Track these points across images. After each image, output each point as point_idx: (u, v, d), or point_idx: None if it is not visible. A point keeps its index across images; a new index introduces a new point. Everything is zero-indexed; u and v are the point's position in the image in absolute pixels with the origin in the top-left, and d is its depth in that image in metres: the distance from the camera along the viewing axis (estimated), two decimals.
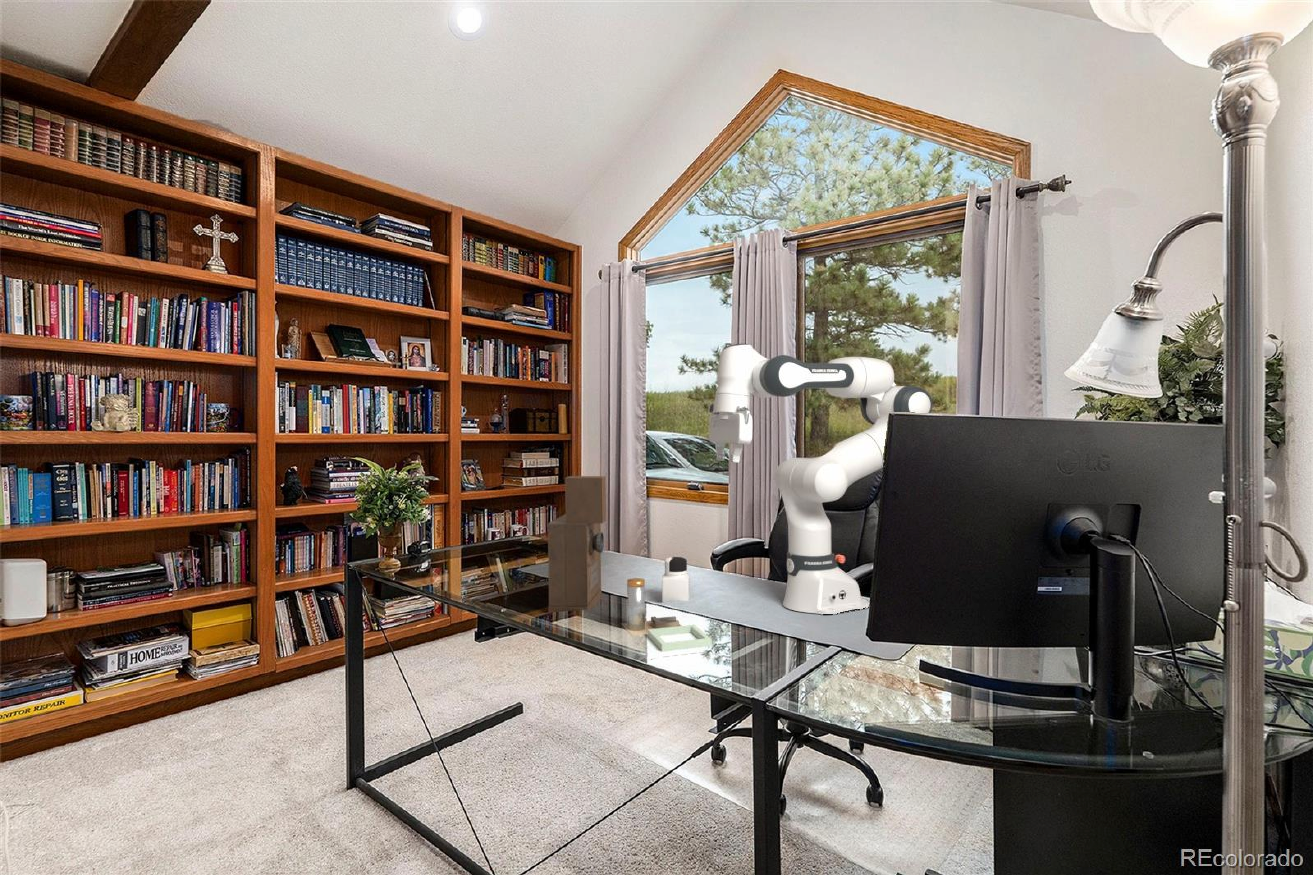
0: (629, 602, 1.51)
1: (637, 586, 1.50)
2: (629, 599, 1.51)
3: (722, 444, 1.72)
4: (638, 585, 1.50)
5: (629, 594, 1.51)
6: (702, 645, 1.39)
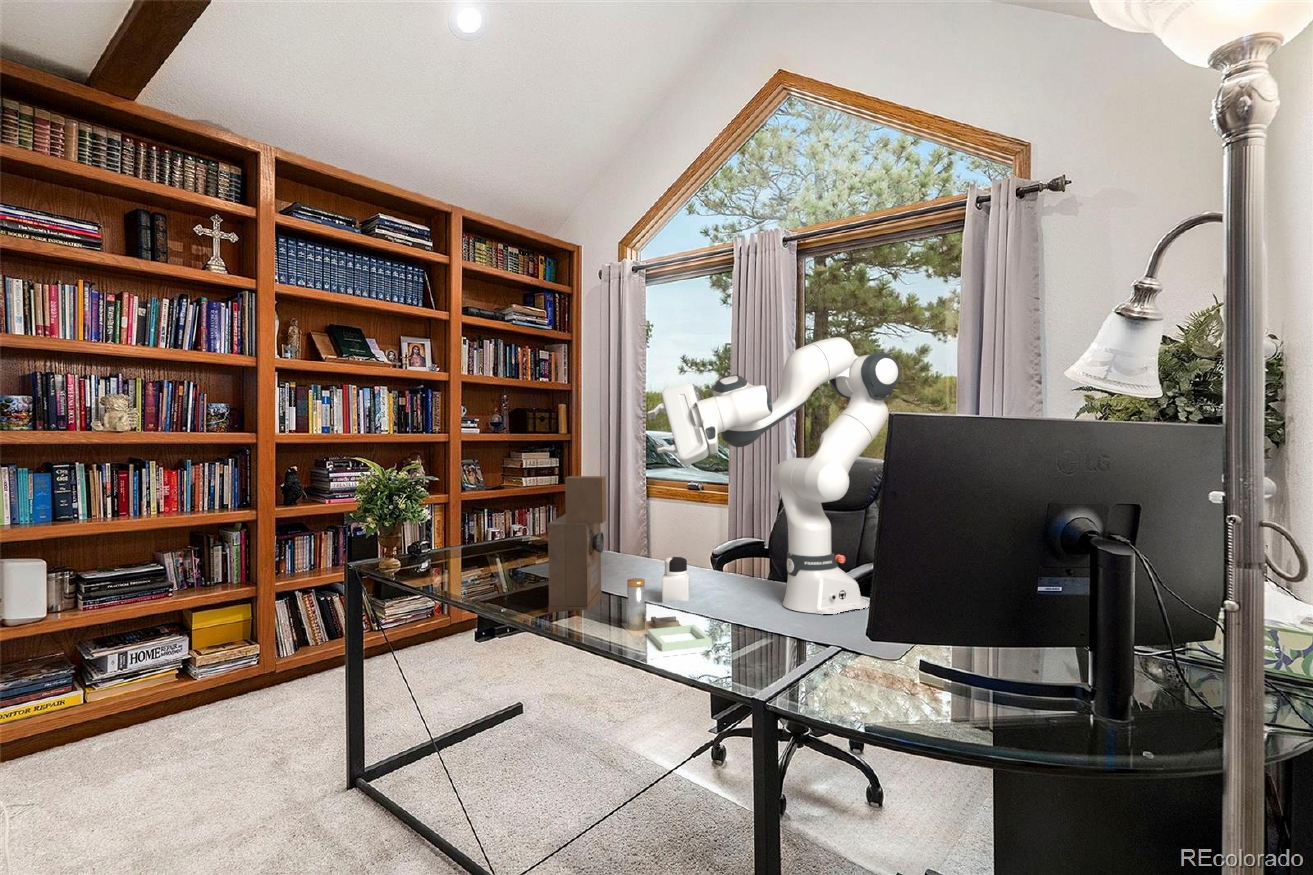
0: (629, 602, 1.51)
1: (637, 586, 1.50)
2: (629, 599, 1.51)
3: None
4: (638, 585, 1.50)
5: (629, 594, 1.51)
6: (702, 645, 1.39)
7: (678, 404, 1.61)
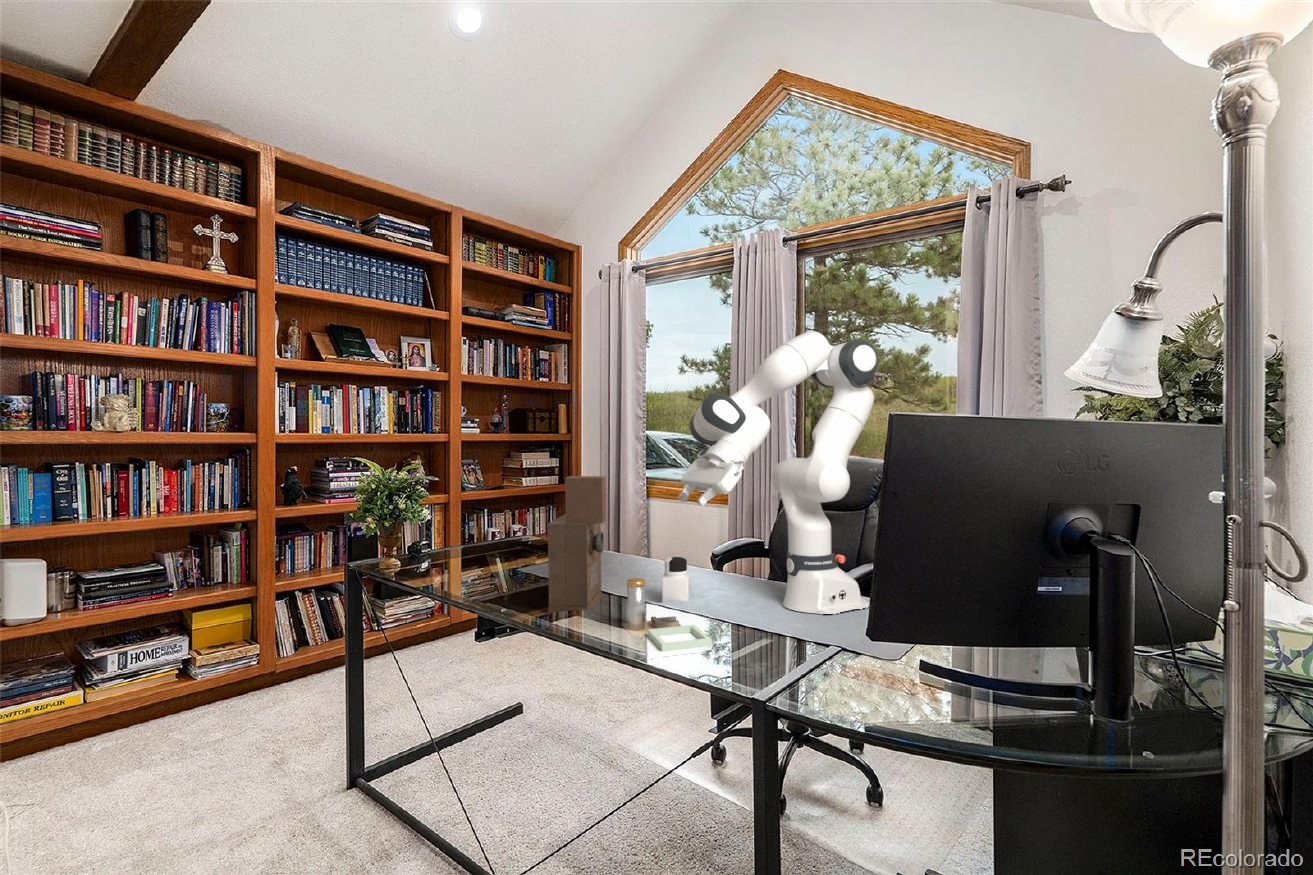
0: (629, 602, 1.51)
1: (637, 586, 1.50)
2: (629, 599, 1.51)
3: (691, 488, 1.66)
4: (638, 585, 1.50)
5: (629, 594, 1.51)
6: (702, 645, 1.39)
7: None
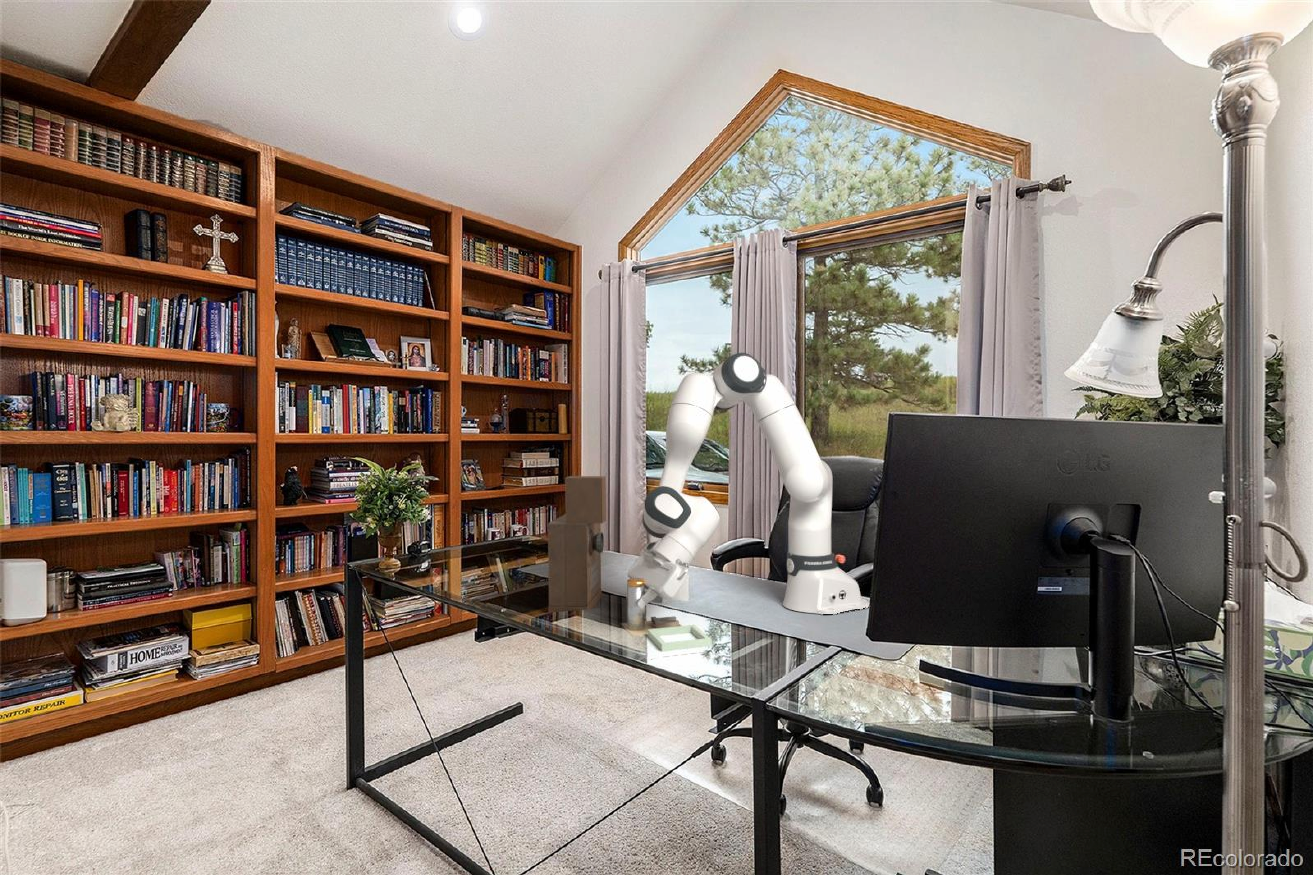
0: (629, 602, 1.51)
1: (637, 586, 1.50)
2: (629, 599, 1.51)
3: None
4: (638, 585, 1.50)
5: (629, 594, 1.51)
6: (702, 645, 1.39)
7: None
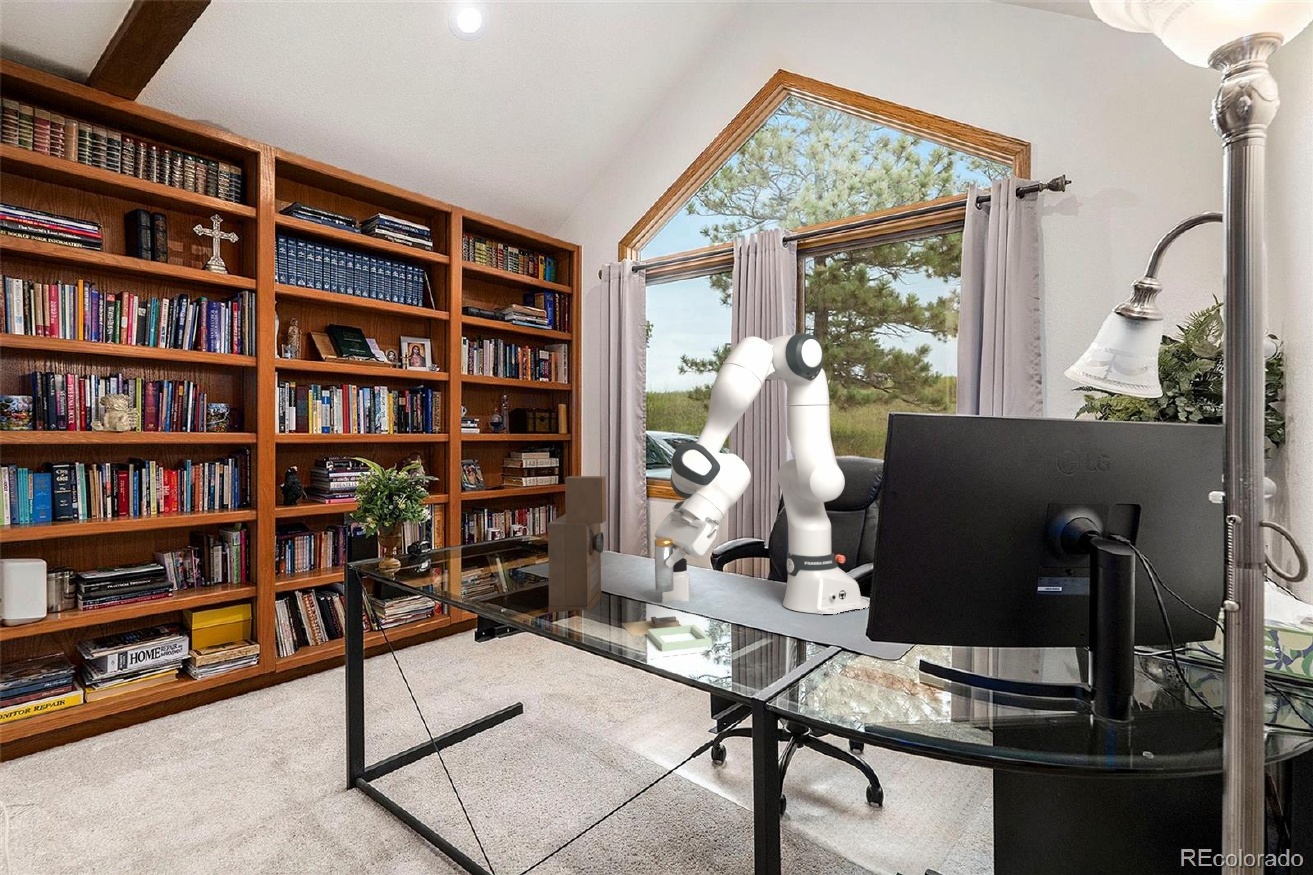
0: (657, 562, 1.45)
1: (665, 545, 1.44)
2: (657, 559, 1.45)
3: None
4: (665, 544, 1.44)
5: (656, 554, 1.45)
6: (702, 645, 1.39)
7: None
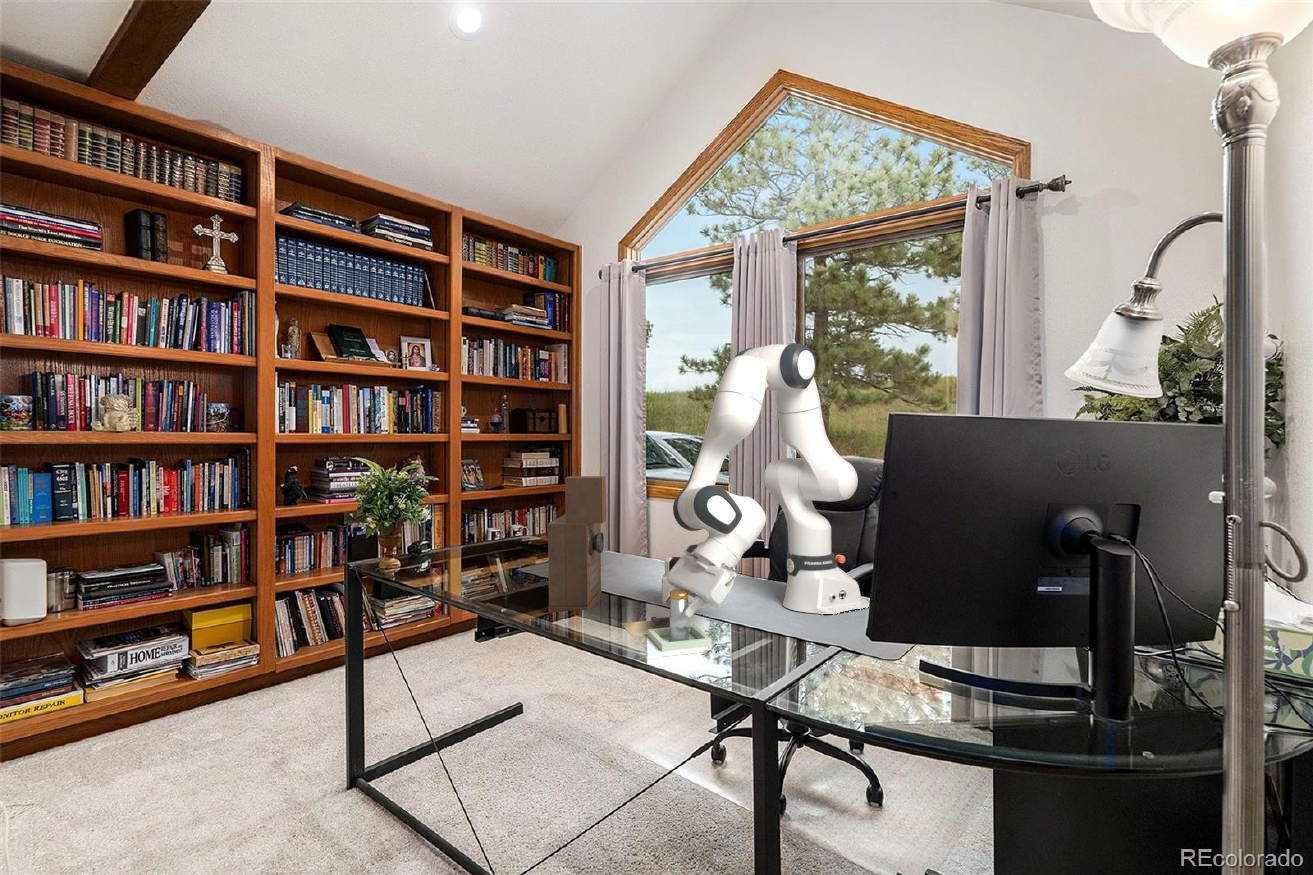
0: (672, 615, 1.42)
1: (681, 598, 1.41)
2: (672, 612, 1.42)
3: None
4: (682, 597, 1.41)
5: (672, 607, 1.42)
6: (702, 645, 1.39)
7: None
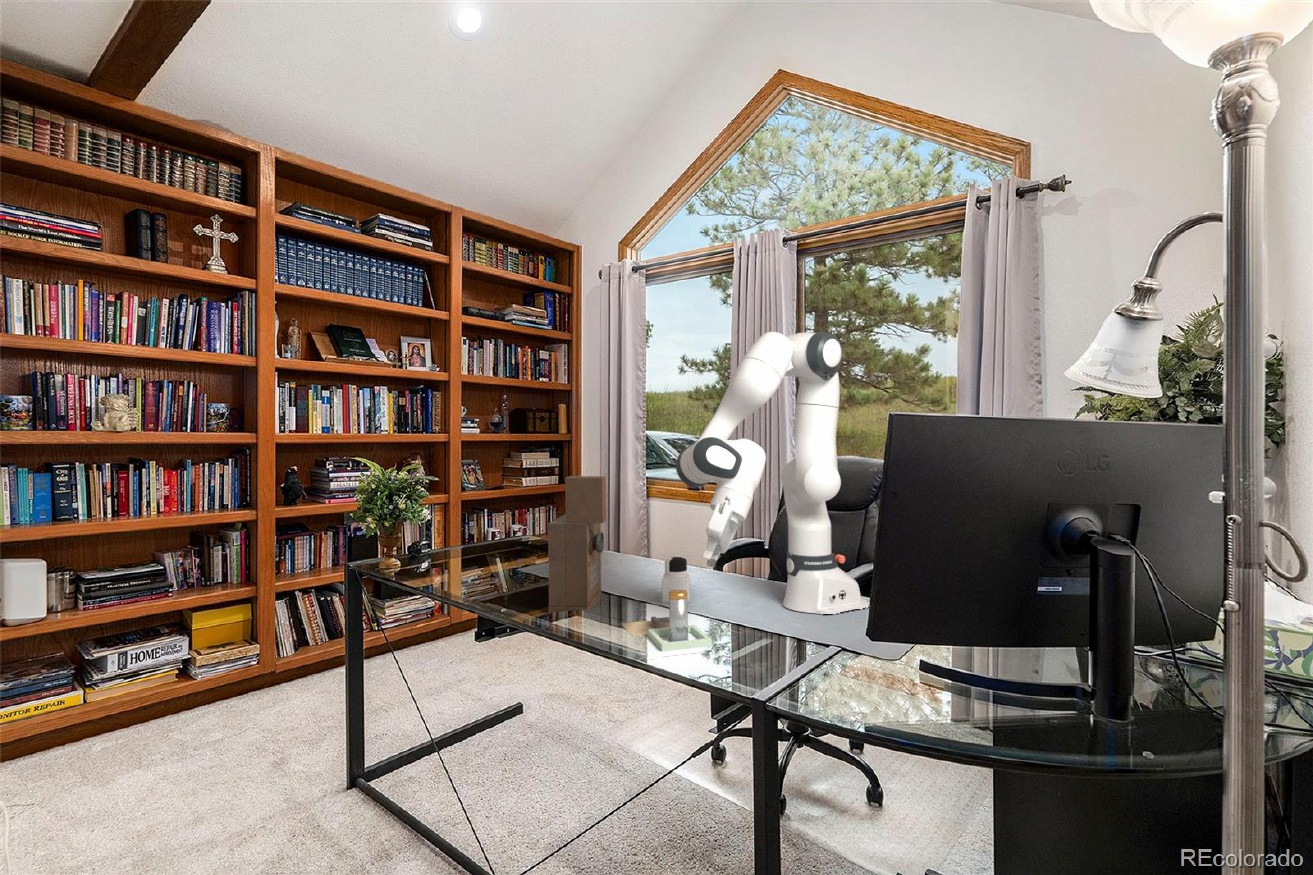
0: (671, 615, 1.42)
1: (680, 598, 1.41)
2: (671, 612, 1.42)
3: (717, 550, 1.54)
4: (681, 597, 1.41)
5: (671, 607, 1.42)
6: (702, 645, 1.39)
7: (727, 528, 1.46)
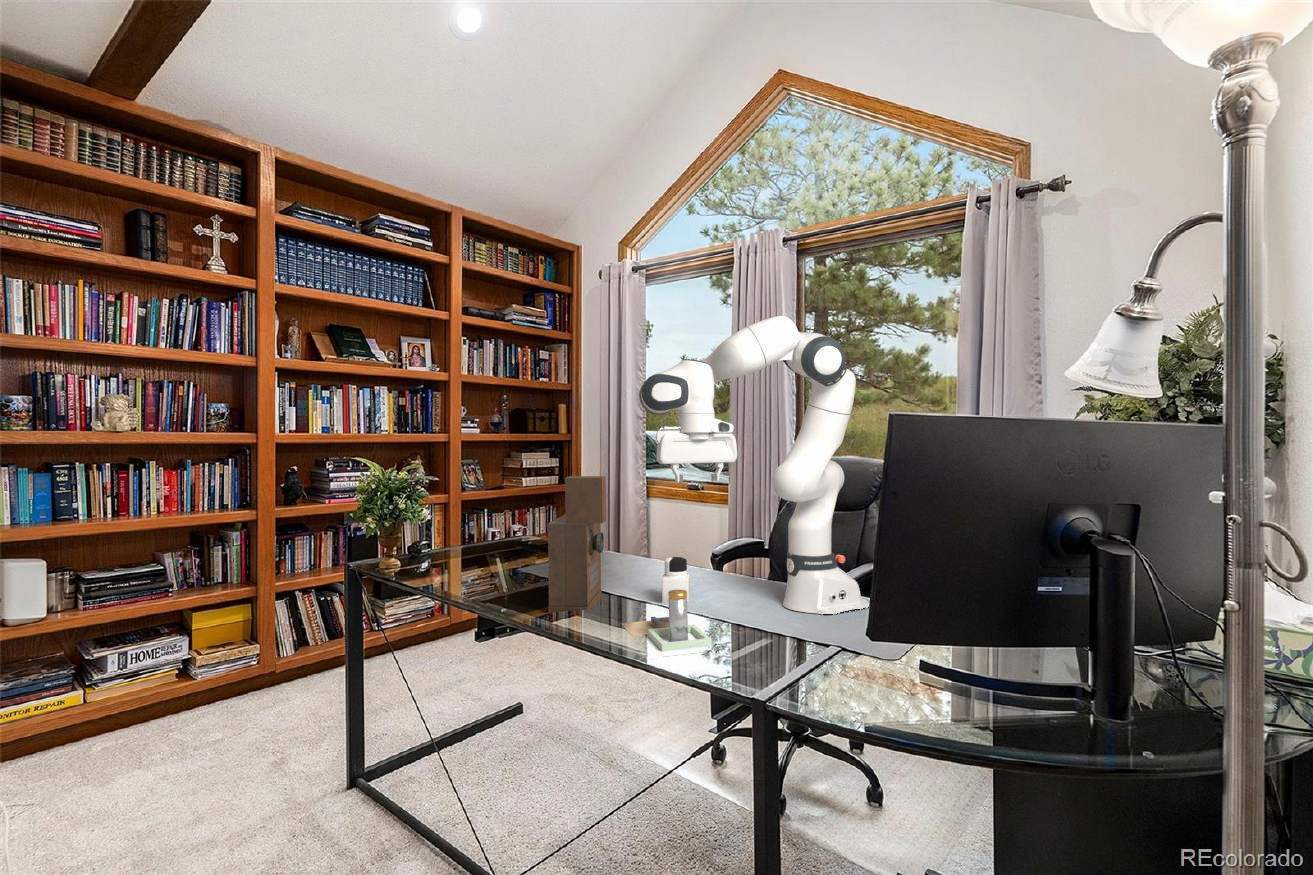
0: (671, 615, 1.42)
1: (680, 598, 1.41)
2: (671, 612, 1.42)
3: (717, 464, 1.64)
4: (680, 597, 1.41)
5: (671, 607, 1.42)
6: (702, 645, 1.39)
7: (681, 450, 1.60)
